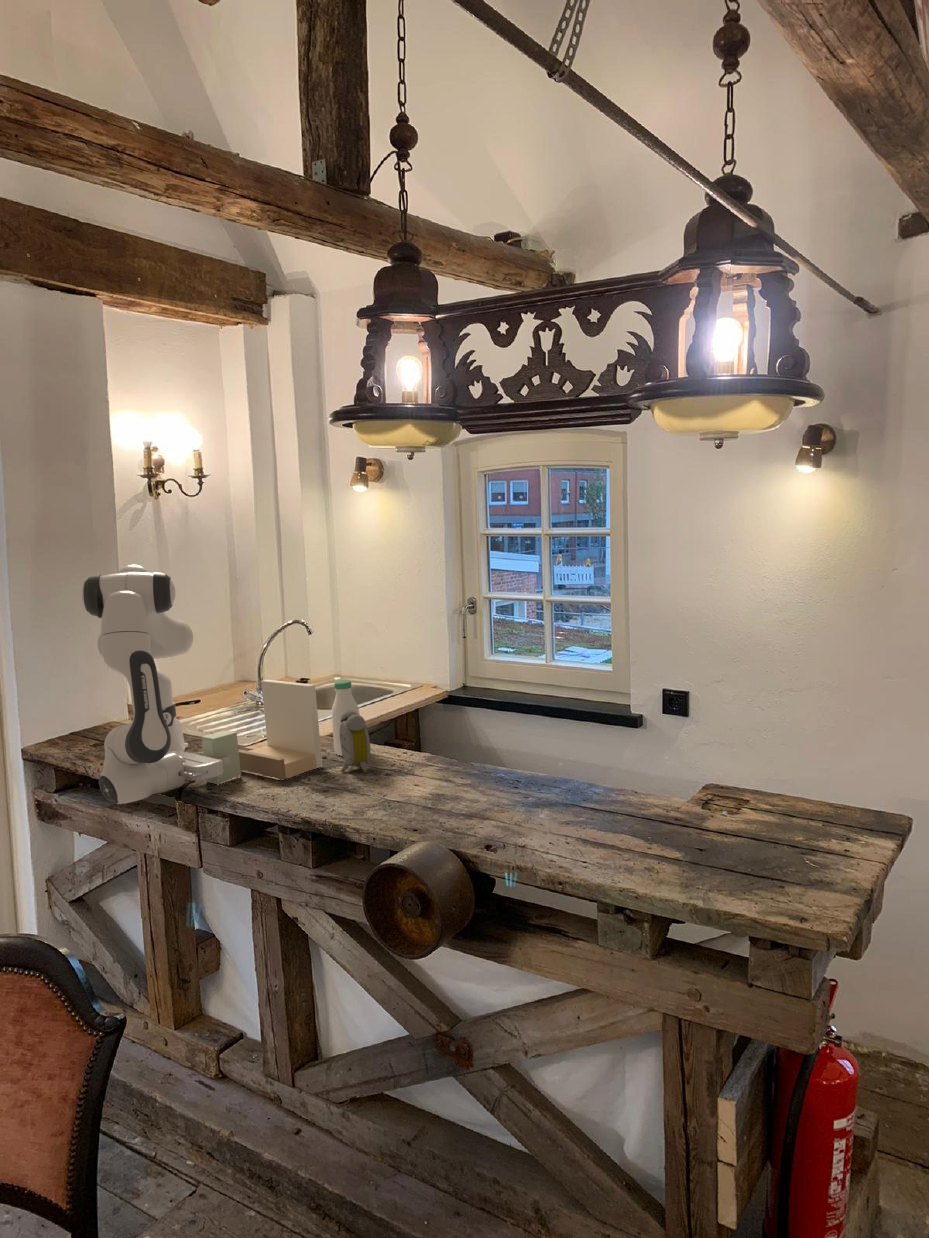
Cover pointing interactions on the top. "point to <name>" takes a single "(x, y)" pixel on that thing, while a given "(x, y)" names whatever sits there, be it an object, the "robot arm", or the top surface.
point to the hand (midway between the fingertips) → (217, 756)
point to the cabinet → (223, 753)
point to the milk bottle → (341, 710)
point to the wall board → (287, 732)
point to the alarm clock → (354, 740)
